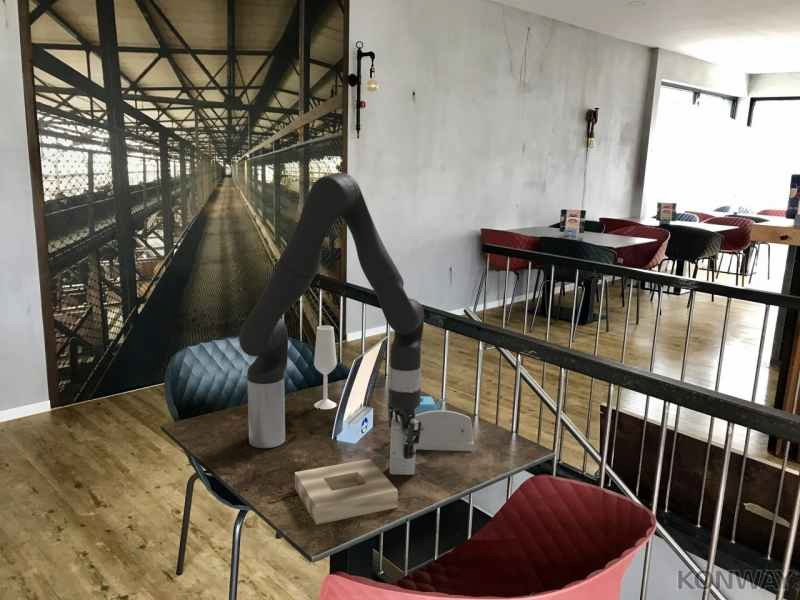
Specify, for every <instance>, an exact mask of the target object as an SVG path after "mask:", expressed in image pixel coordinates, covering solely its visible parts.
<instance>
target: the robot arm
mask: <svg viewBox="0 0 800 600" xmlns="http://www.w3.org/2000/svg"><path fill="white" fill-rule="evenodd" d="M356 180H357V179H355V178H354V177H353V176H352V175H350V174H348V173H346V172H335V173H332V174H328V175H324V176H321V177H319V178H318V179H317V180H316V181H314V183H313V184H312V186H311V187H310V190H309V192H308V195H307V197H306V199H305V202H304V205H303V208H302V211H301V214H300V217H299V219H298V222H297V224H296V226H295V228H294V230H293V232H292V233H291V235H290V237H289V239H288V241H287V243H286V245H285V247H284V249H283V250H282V252H281V254H280V257H279V258H278V260H277V262H276V265H275V267H274V269H273V270H272V274H271V275H270V277H269V279H268V281H267V283H266V285H265V286H264V289H263V291H262V293H261V294H260V297H259V299H258V301H257V302H256V304H255V305H254V307H253V308H252V309H251V312H250V313H249V315H248V316H247V318H246V319H245V321H244V322H243V324H242V325H241V328H240V330H239V336H238V337H239V338H238V339H239V340H238V341H239V345H240V348H241V351H243V353H244V354H245V355H248V356H251V357H256V359H255V360H254V361H253V362H252V364H250V365H249V366H248V367H247V368H248V369H247V372H246V375H247V380H246V381H247V408H248V410H247V411H248V412H247V413H248V415H247V416H248V442H249V445H251V446H252V447H254V448H259V449H270V448H271V449H272V448H275V447H278V446H281V445H282V444H284V443H285V441H286V413H285V412H286V409H285V408H286V407H285V403H286V402H285V399H286V397H285V371H286V368H287V366H288V354H289V352H288V350H289V348H288V347H289V333H288V329H287V325H286V324H285V321H284V320H283V319H282V317H283V316H284V315H285V313H286V312H287V311H289V310H290V309H291V308H292V307H293V305H294V304H296V303H297V302H298V300H300V298H301V297H303V296H304V295H305V293H306V292H307V290H308V289H309V287H310V285H311V284H312V282H313V280H314V278H315V277H316V274H317V272H318V271H319V269H320V265H321V261H322V260H321V259H322V253H323V252H322V250H323V246H324V242H325V239H326V237H327V235H328V234H329V232H330V230H331V228H332V227H333V225H334V224H335V222H336V221H337V220H338V218H339V217H340V218H341V219H342V221H343V222H344V224H346V227H347V228H348V230H349V232H350V234H351V236H352V239H353V242H354V246H355V251H356V254H357V258H358V262H359V265H360V267H361V269H362V272H363V274H364V276H365V278H366V280H367V281H368V283H369V285H370V287H371V289H372V290H373V292H374V293H375V294H376V296H377V299H378V303H379V306H380V307H381V311H382V313H383V316H384V318H385V321H386V322H387V323H388V326H389V327H390V328H391V329H392V330H393V331H394V333H393V334H394V336H393V341H392V343H391V346H390V351H389V352H390V353H389V354H390V355H389V373H388V388H387V389H388V393H387V395H388V396H387V397H388V401H387V413H388V427H389V428H390V429H391V420H393V421H394V422H396V421H397V422H398V423H399V424H400V431H401V434H402V435H403V439H404V458H405V459H410V458H413V448H414V444H418V443H419V438H420V430H421V421H416V420H415V412H414V410H415V408H416V407H418V406H419V405H420V399H421V395H422V394H421V392H422V372H421V362H422V361H421V359H422V358H421V354H422V353H421V345H422V340H423V339H422V338H423V334H424V333H423V332H424V325H425V311H424V307H423V305H422V304H421V303H420V302H419V301H418V300H417V299H415V298H411V297H409V296H408V295H407V293H406V291H405V289H404V285H405V284H404V279H403V277H402V275H401V273H400V271H399V270H398V268H397V266H396V264H395V263H394V261H393V259H392V257H391V256H390V253H389V252H388V250H387V248H386V247H385V245H384V243H383V241H382V239H381V236H380V234H379V232H378V230H377V227H376V225H375V223H374V219H373V217H372V215H371V214H370V210H369V208H368V205H367V203H366V200H365V197H364V195H363V192H362V189H361V188H360V185H359V183H358V182H357V181H356ZM405 428H409V430H406V431H405V430H404V429H405ZM407 434H408V439H407Z"/></svg>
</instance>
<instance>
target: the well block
mask: <svg viewBox="0 0 800 600" xmlns="http://www.w3.org/2000/svg"><path fill="white" fill-rule="evenodd" d="M294 489H295V491H296V493H297V494H298V496H299V498H300V500H301V501H302V503H303V505H304V506H305V508H306V510H307V512H308V513H309V515H310V517H311V519H312V520H313V522H314V524H315V525H317V526H318V525H323V524H327V523H332V522H335V521H336V522H337V521H340V520H346V519H350V518H351V519H352V518H354V517H360V516H364V515H369V514H374V513H378V512H384V511H387V510H391V509H392V510H393V509H397V508H398V506H399V505H398V501H399V499H398V497H399V491H398V489H397V488H396V487H395V486H394V484H393V483H392V482H391V481H390V479H388V478H387V476H386V475H385V474H384V473H383V472H382V471H381V470H380V468H378V466H377V465H376V464H375V462H373V460H372V459H371V458H367V459H362V460H357V461H351V462H345V463H339V464H334V465H328V466H322V467H317V468H312V469H305V470H300V471H295V472H294Z"/></svg>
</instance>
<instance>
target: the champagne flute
mask: <svg viewBox="0 0 800 600" xmlns="http://www.w3.org/2000/svg"><path fill="white" fill-rule="evenodd" d="M315 337H316V338H315V347H314V348H315V349H314V350H315V351H314V357H313V358H314V359H313V365H314V367H315V369H316V370H317V371H318V372H319V373H320V374H322V375H323V379H322V381H323V389H322V390H323V391H322V392H323V394H322V395H323V396H322V397H323V398H322V399H321V400H318V401H317V402H316V403H314V404H313V406H314V407H315V408H316V409H319V408H320V410H332V409H334V408H335V407H337V406H338V405H337V403H336V402H334V401H332V400H330V399H329V398H328V375H329V374H331V372H333V370H335V368H336V367H337V364H338V362H337V350H336V343H335V342H336V341H335V340H336V338H335V330H334V326H332V325H319V326H317V328H316V336H315Z"/></svg>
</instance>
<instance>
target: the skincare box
mask: <svg viewBox="0 0 800 600" xmlns="http://www.w3.org/2000/svg"><path fill="white" fill-rule="evenodd" d="M404 430H405V431H406V430H409V428H405V429H404ZM407 439H408V434H407ZM389 448H390V449H389V450H390V451H389V465H388V466H389V475H405V476H407V475H408V476H409V475H411V476H412V475H415V473H416V453H417V451H416V450H417V449H416V444H414V448H413V458H410V459H405V458H404V439H403V435H402V434H401V431H400V424H399V423H398V422H397V421H396V422H394V421H393V420H391V428H390V447H389Z"/></svg>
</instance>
